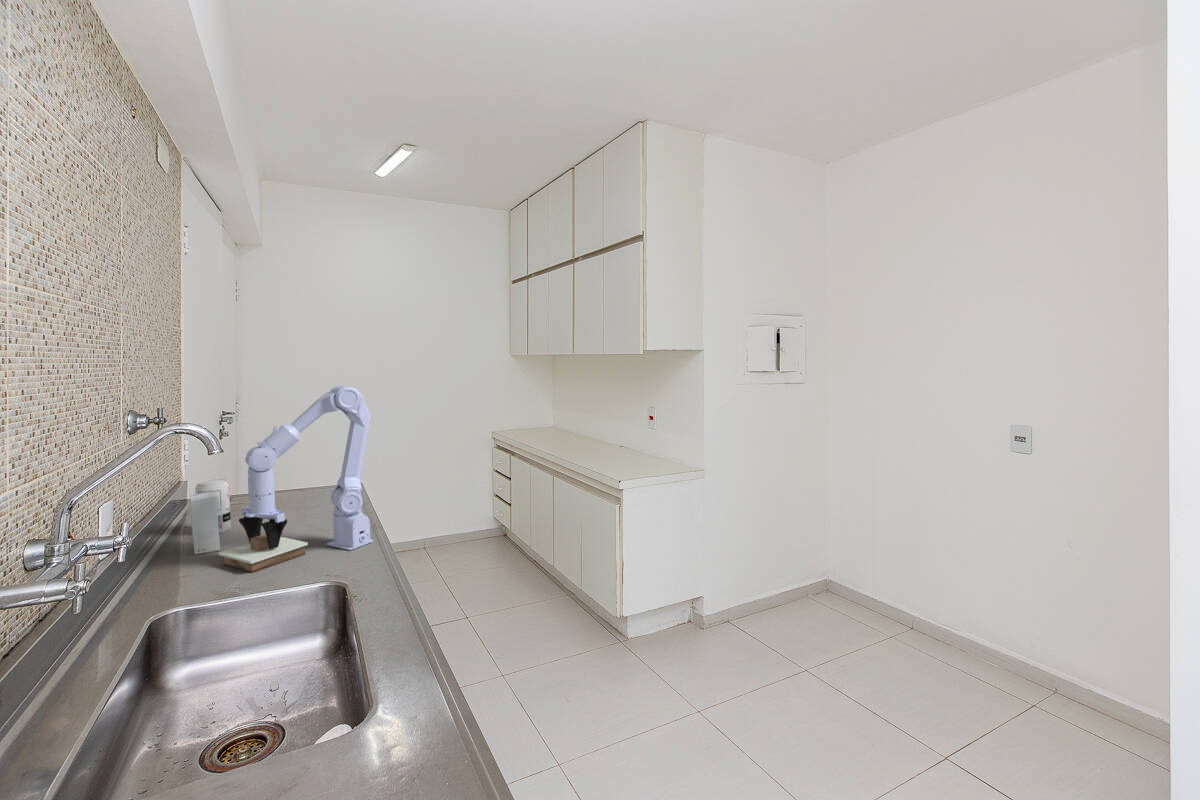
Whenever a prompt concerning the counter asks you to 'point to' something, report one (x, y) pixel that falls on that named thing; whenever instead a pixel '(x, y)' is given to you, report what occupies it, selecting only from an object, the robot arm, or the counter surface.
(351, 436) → the robot arm
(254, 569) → the box
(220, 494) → the supplement can
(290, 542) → the lid
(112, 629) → the counter surface
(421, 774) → the counter surface
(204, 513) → the skincare box
